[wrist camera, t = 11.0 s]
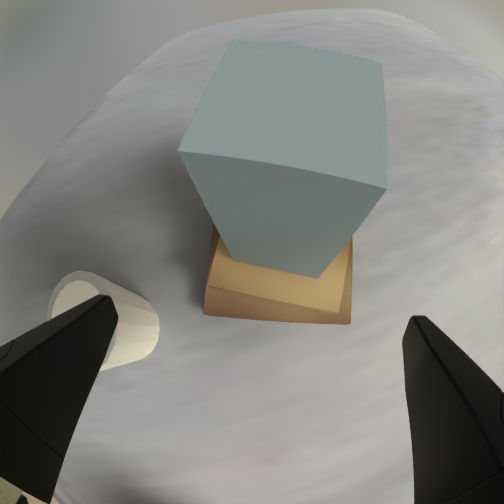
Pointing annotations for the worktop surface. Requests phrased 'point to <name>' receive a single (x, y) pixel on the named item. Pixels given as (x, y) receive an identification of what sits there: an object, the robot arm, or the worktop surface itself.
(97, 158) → the worktop surface
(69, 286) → the shot glass
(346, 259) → the tower top
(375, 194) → the tall block
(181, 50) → the worktop surface
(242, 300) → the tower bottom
